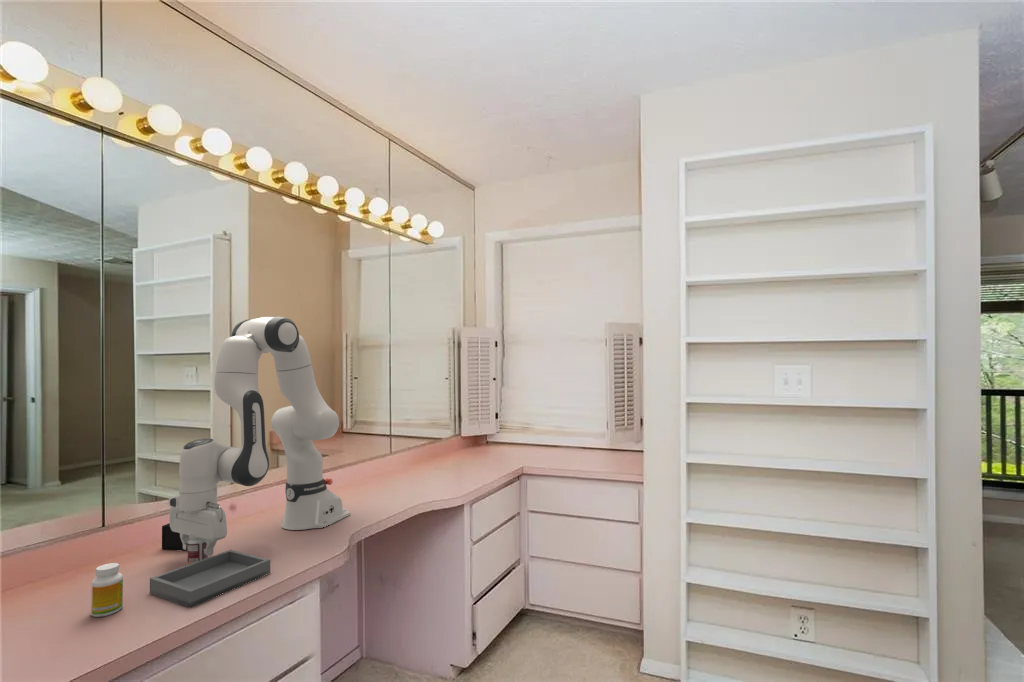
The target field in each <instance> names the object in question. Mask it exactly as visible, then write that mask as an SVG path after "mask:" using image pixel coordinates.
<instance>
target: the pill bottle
mask: <svg viewBox="0 0 1024 682" xmlns="http://www.w3.org/2000/svg"><path fill="white" fill-rule="evenodd" d="M189 539H190V540H189V541H188V551H187V565H189V564H192V563H194V562H197V561H200V560H203V559H206V558H209V556H206V555H204V549H205V548H206V546H207V543H206V539H202V538H198V537H194V535H193V534H189Z"/></svg>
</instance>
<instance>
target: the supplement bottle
mask: <svg viewBox="0 0 1024 682" xmlns="http://www.w3.org/2000/svg"><path fill="white" fill-rule="evenodd" d="M119 571H120V564H119V563H117V562H112V563H111V562H110V563H105V564H102V565H99V566H98V567H96V568H95V576H96V577H94V578H93V580H92V582H91V590H90V592H91V594H90V597H91V598H90V599H91V600H90V601H91V602H90V603H91V604H90V605H91V606H90V615H91V616H92V617H95V618H103V617H106V616H110V615H113V614H116V613H118V612H119V611H121V610H122V608H123V604H124V603H123V597H124V596H123V592H124V590H123V589H124V575H123V574H122V573H120V572H119Z"/></svg>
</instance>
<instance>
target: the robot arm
mask: <svg viewBox="0 0 1024 682" xmlns="http://www.w3.org/2000/svg"><path fill="white" fill-rule="evenodd" d="M308 348H309V347H308V345H307V343H306V341H305V339H304V337H303V336H302V335H301V334H299V329H298V327H297V325H296V323H295V322H294V321H293V320H292V319H290V318H288V317H284V316H261V317H259V318H258V317H257V318H253V319H252V318H251V319H250V318H249V319H245V320H242V321H240V322H239V323H237V324H236V325H235V326H234V328H233V329H232V331H231V335H230V336H229V337H227V338H225V340H223V341H222V343H221V346H220V347H219V351H218V355H217V359H216V365H215V373H214V391H215V394H216V396H217V397H218V398H219V399H220V400H221V401H222V402H224V404H226V405H227V406H230V407H231V408H232V409H233V410H235V412H236V414H238V416H239V420H240V439H241V440H240V441H241V443H240V444H241V446H240V447H237V446H230V445H225V444H222V443H220V442H218V441H216V440H215V439H214V438H209V437H207V438H201V439H200V438H199V439H198V438H197V439H195V440H192V441H189V442H187V443H186V444H185V445H184V446H183V447H182V449H181V452H180V456H179V471H178V472H179V478H180V486H179V490H178V495H176V496H173V497H169V498H168V506H169V507H170V508H169V516H168V517H169V523H170V528H171V530H172V531H173V532H177V533H180V538H181V541H182V543H183V549H184V550H188V541H189V540H190V539H189V534H193V535H194V537H198V538H202V539H206V543H207V546H206V548H205V549H204V555H206V556H208V557H211V556H213V555H214V549H215V546H216V544H217V542H218V541H219V540H223V539H225V538H226V537H227V534H228V524H227V515H226V511H225V510H224V509H223V507H221V504H220V503H218V483H219V482H226V483H231V484H232V483H233V484H238V485H241V486H244V487H253V486H256V485H257V484H259V483H260V482H261V481H262V480H263V479H264V478H265V477H266V475H267V474H268V473H269V469H270V458H269V455H268V451H267V444H266V425H265V424H266V423H265V406H264V400H263V397H262V395H261V394H260V391H259V384H258V380H259V379H258V376H259V360H260V358H261V356H262V355H263V354H268V353H270V354H271V355H272V357H273V359H274V366H275V368H274V369H275V372H276V376H277V383H278V387H279V392H280V394H281V396H283V397H284V398H285V399H286V400H288V402H289V403H290V406H289V405H288V406H284V407H280V408H278V409H277V410H276V411H275V412H274V413H273V415H272V416H271V417H272V418H271V421H270V424H271V429H272V431H273V432H274V433H275V434H276V435H277V436H278V438H279V439H280V442H281V444H282V447H283V450H284V454H285V458H286V475H287V476H286V482H285V487H284V489H285V490H284V491H285V499H286V501H285V508H284V515H283V519H282V522H281V528H282V529H285V530H288V531H289V530H290V531H300V530H302V531H303V530H309V529H322V528H323V527H324V528H326V526H327V527H328V525H329V526H330V525H332V524H335V523H337V522H338V521H340V520H342V519H344V518H346V517H348V516H351V513H350V511H349V510H347V509H345V508H344V507H343V506H344V505H343V501H342V498H341V497H340V496H338V495H337V494H336V493H334V492H333V491H331V490H330V489H328V487H327V485H329V486H331V485H332V484H333V481H334V480H333V479H332V478H324V477H323V476H324V475H323V471H324V470H323V465H324V464H323V461H324V460H323V455H322V454H321V452H320V451H319V450H318V449H317V447H316V446H315V444H314V443H315V442H314V441H322V440H327V439H330V438H332V437H334V436H335V434H336V433H337V431H338V430H339V426H340V418H339V415H338V414H337V412H336V411H335V410H333V409H332V408H331V407H330V406H329V405H328V404H327V402H326V401H325V400H324V398H323V396H322V394H321V392H320V391H319V388H318V385H317V382H316V378H315V373H314V368H313V364H312V363H313V362H312V359H311V354H310V351H309V349H308Z"/></svg>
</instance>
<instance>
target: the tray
mask: <svg viewBox="0 0 1024 682" xmlns="http://www.w3.org/2000/svg"><path fill="white" fill-rule="evenodd" d="M268 573H270V574H271V559H270V558H269V559H268V558H265V557H260V556H258V555H254V554H249V553H246V552H241V551H237V550H233V549H229V550H226V551H223V552H221V553H217V554H213V555H210V556H208V558H206V559H203V560H200V561H197V562H194V563H192V564H189V565H188V564H187V565H184V566H180V567H177V568H175V569H172V570H169V571H166V572H164V573H162V574H159V575H158V574H157V575H154V576H152V577H150V578H149V594H150V593H151V594H150V595H153V596H156V597H159V598H161V599H165V600H167V601H169V602H173V603H175V604H178V605H181V606H184V607H186V606H187V608H189V607H191V608H193V607H196V606H198V605H200V604H202V603H204V602H207V601H210V600H212V599H214V598H217V597H219V596H221V595H223V594H222V593H224V594H226V593H228V592H230V590H231V591H233V590H235V589H238V588H240V587H242V586H244V585H243V584H245V585H247V584H249V583H251V582H250V581H252V582H254V581H256V580H259V579H261V578H263V577H265V576H264V575H266V574H268ZM268 575H269V574H268ZM262 576H263V577H262ZM266 576H267V575H266ZM260 577H261V578H260ZM258 578H259V579H258ZM255 579H256V580H255ZM253 580H254V581H253ZM248 582H249V583H248ZM246 583H247V584H246ZM241 585H242V586H241ZM239 586H240V587H239ZM237 587H238V588H237ZM234 588H235V589H234ZM232 589H233V590H232ZM225 592H226V593H225ZM220 594H221V595H220ZM218 595H219V596H218ZM216 596H217V597H216ZM213 597H214V598H213ZM197 604H198V605H197ZM195 605H196V606H195ZM192 606H193V607H192Z"/></svg>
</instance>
